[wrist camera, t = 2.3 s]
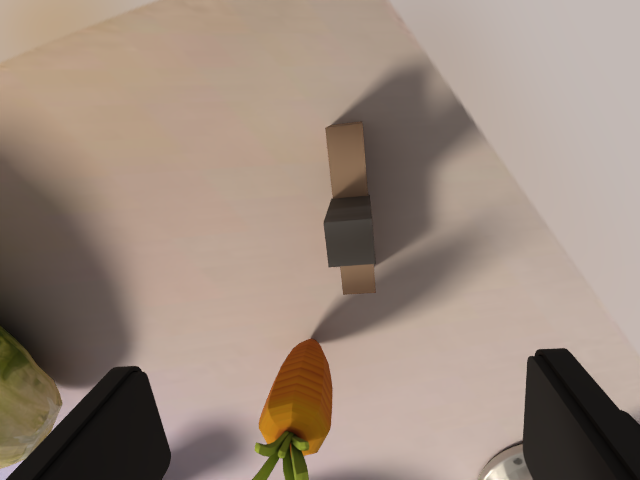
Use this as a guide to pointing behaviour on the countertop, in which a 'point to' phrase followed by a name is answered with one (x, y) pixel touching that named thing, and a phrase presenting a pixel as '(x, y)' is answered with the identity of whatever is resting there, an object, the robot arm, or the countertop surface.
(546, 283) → the countertop surface
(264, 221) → the countertop surface
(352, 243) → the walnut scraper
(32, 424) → the lettuce
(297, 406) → the carrot
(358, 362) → the countertop surface
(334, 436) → the countertop surface
